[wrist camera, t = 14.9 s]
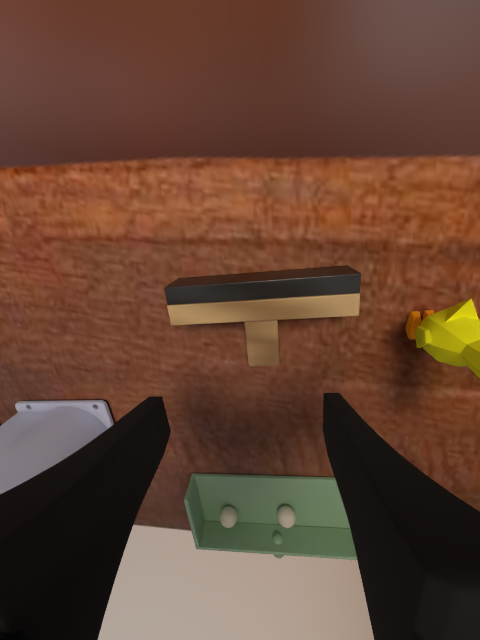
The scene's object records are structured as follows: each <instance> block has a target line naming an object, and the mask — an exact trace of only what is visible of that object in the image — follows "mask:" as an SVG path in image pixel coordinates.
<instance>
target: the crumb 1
mask: <svg viewBox="0 0 480 640" xmlns="http://www.w3.org/2000/svg"><path fill="white" fill-rule="evenodd" d="M236 521H237V513H236V511H235V509H234V508H233V507H231V506H226V507H224V508H223V509H222V511H221V513H220V522H221V524H222V525H223V526H224V527H226V528H231V527H233V526H234V525H235V523H236Z"/></svg>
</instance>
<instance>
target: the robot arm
mask: <svg viewBox="0 0 480 640" xmlns="http://www.w3.org/2000/svg"><path fill="white" fill-rule="evenodd" d="M96 405H97V406H96ZM15 407H16V409H17V411H18V413H17V414H15V415H14V416H13V417H11V418H10V419H9V420H8V421H6V422H5V423H4V424H2V425H1V426H0V640H97V639H98V636H99V632H100V629H101V625H102V621H103V617H104V614H105V611H106V607H107V604H108V600H109V597H110V594H111V591H112V587H113V584H114V581H115V577H116V574H117V571H118V568H119V565H120V562H121V559H122V556H123V552H124V549H125V547H126V544H127V541H128V538H129V535H130V532H131V529H132V526H133V524H134V521H135V518H136V516H137V513H138V511H139V508H140V506H141V504H142V501H143V499H144V497H145V495H146V493H147V490H148V488H149V486H150V484H151V481H152V479H153V477H154V475H155V473H156V470H157V468H158V466H159V464H160V461H161V459H162V457H163V455H164V452H165V449H166V446H167V442H168V439H169V436H170V432H171V430H170V426H169V422H168V419H167V415H166V411H165V407H164V403H163V399H162V397H148V398H147V399H146V400H144V401H143V402H142V403H140V404H139V405H138V406H136V407H135V408H134V409H133V410H131V411H130V412H129V413H128V414H126V415H125V416H124V417H122V418H121V419H120V420H119V421H117V422H116V423H115V424H114V422H113V419H112V416H111V413H110V411H109V408H108V405H107V403H106V402H105V401H103V400H60V401H19V402H18V403H16V404H15ZM323 433H324V438H325V444H326V449H327V453H328V457H329V460H330V464H331V467H332V470H333V473H334V476H335V480H336V483H337V486H338V489H339V492H340V495H341V499H342V502H343V505H344V508H345V511H346V514H347V518H348V522H349V525H350V529H351V534H352V538H353V542H354V547H355V551H356V556H357V560H358V565H359V569H360V574H361V578H362V583H363V587H364V592H365V597H366V602H367V606H368V611H369V616H370V621H371V625H372V630H373V635H374V640H480V512H479V511H478V510H476V509H475V508H473V507H471V506H470V505H468V504H467V503H465V502H464V501H462V500H461V499H459V498H458V497H456V496H455V495H453V494H452V493H450V492H449V491H448V490H446V489H445V488H443V487H442V486H440V485H439V484H438V483H436V482H435V481H433V480H432V479H431V478H429V477H428V476H427V475H425V474H424V473H423V472H421V471H420V470H419V469H417V468H416V467H415V466H414V465H412V464H411V463H410V462H409V461H407V460H406V459H405V458H404V457H402V456H401V455H400V454H399V453H398V452H397V451H395V450H394V449H393V448H392V447H391V446H390V445H389V444H388V443H387V442H385V441H384V440H383V439H382V438H381V437H380V436H379V435H378V434H377V433H376V432H375V431H374V430H373V429H372V428H371V427H370V426H369V425H368V424H367V423H366V422H365V421H364V420H363V419H362V418H361V417H360V416H359V415H358V414H357V412H356V411H355V410H354V409H353V408H352V407H351V406H350V405H349V404H348V402H347V401H346V400H345V399H344V398H343V397H342V396H341V395H340V394H339V393H324V402H323Z"/></svg>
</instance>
